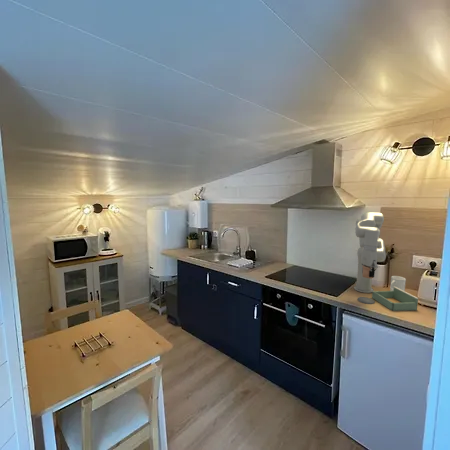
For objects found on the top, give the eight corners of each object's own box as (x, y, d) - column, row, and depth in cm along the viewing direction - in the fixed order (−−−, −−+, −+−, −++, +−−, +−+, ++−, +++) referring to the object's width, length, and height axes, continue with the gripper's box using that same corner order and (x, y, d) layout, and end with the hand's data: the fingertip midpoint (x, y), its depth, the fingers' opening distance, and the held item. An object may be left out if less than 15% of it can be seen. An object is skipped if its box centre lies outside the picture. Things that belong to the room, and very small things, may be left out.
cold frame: (372, 297, 177) (372, 286, 176) (394, 297, 178) (395, 286, 178) (392, 310, 158) (393, 298, 157) (417, 310, 159) (418, 298, 158)
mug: (384, 291, 189) (385, 277, 187) (395, 289, 193) (396, 275, 192) (396, 296, 181) (397, 280, 179) (407, 293, 186) (408, 278, 184)
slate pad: (354, 297, 177) (354, 297, 177) (368, 297, 177) (368, 296, 177) (363, 304, 167) (363, 303, 167) (378, 303, 167) (378, 302, 167)
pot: (359, 275, 173) (360, 264, 173) (369, 275, 174) (370, 264, 173) (366, 278, 166) (366, 267, 165) (376, 278, 167) (377, 267, 166)
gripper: (356, 245, 176) (354, 271, 178) (373, 251, 159) (370, 279, 161) (367, 245, 177) (365, 271, 179) (385, 250, 160) (382, 279, 162)
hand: (368, 275), depth 170 cm, fingers closed on pot, 6 cm apart
